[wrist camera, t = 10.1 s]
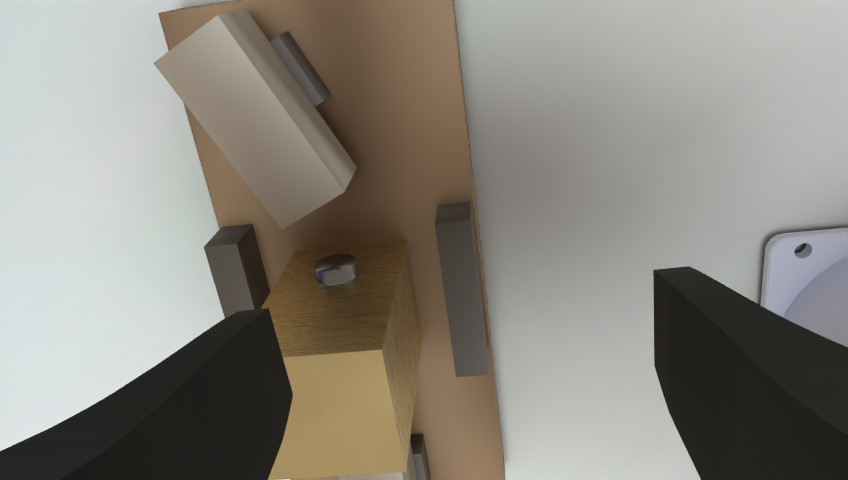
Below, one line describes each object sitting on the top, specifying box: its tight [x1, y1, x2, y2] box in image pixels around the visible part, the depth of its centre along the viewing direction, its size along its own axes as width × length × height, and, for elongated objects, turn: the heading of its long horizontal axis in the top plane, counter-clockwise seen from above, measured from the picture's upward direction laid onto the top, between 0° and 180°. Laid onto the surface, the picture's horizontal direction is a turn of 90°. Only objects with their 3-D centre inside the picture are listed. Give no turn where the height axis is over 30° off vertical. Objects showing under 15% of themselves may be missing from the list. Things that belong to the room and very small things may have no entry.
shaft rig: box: [154, 0, 505, 480], centre depth 20 cm, size 8×18×4 cm, turn 8°
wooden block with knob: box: [261, 240, 423, 480], centre depth 18 cm, size 4×4×6 cm
